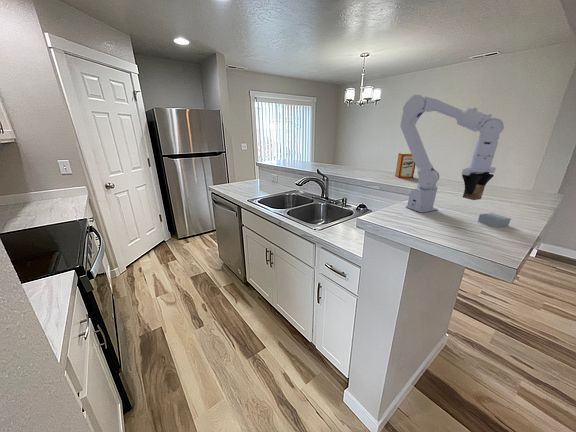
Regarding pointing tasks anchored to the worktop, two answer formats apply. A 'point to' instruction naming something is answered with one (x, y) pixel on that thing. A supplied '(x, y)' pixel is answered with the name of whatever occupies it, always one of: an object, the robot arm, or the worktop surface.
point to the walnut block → (475, 193)
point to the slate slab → (494, 220)
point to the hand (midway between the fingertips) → (472, 193)
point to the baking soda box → (405, 166)
